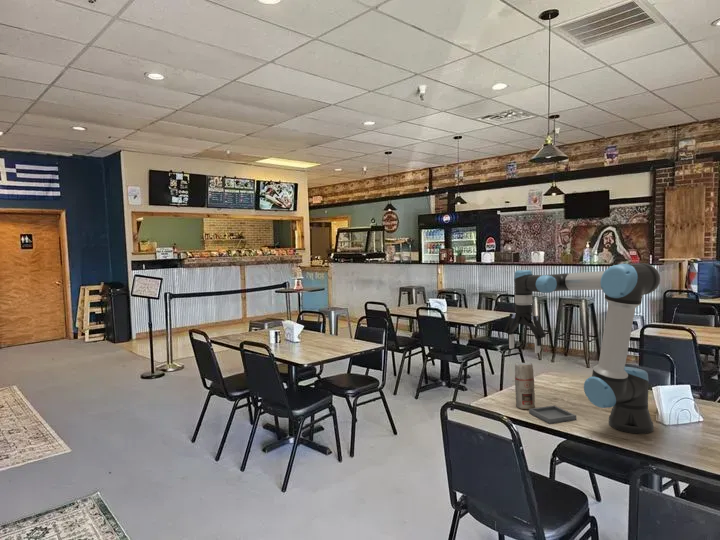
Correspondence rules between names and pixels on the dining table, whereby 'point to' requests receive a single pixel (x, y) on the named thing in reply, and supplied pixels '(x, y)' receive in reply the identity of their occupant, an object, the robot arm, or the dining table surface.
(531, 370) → the spray can
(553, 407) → the tray
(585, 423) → the dining table surface
